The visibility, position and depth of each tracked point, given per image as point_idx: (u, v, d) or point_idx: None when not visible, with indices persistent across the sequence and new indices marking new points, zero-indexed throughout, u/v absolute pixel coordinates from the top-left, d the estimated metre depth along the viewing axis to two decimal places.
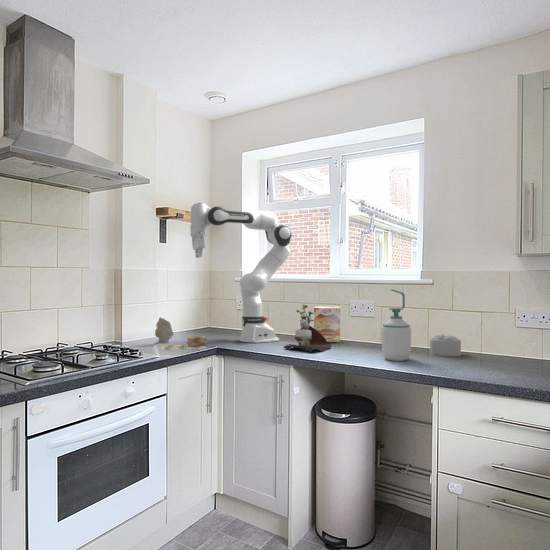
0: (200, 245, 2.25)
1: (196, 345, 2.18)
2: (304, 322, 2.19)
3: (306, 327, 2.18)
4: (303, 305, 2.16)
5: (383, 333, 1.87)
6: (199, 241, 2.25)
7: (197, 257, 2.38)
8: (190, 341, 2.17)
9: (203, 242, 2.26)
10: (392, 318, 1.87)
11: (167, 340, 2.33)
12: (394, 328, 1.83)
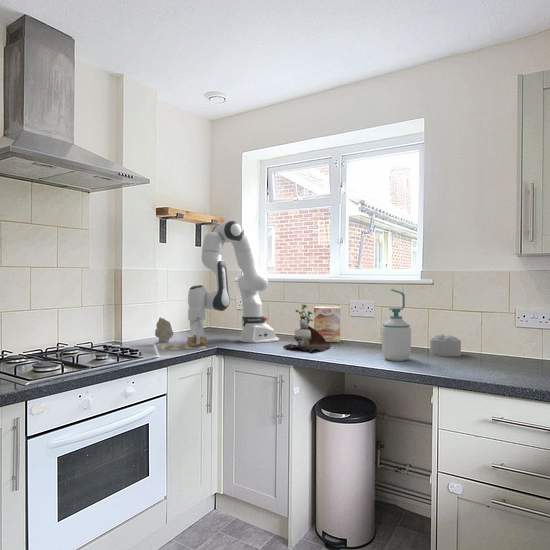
0: (198, 334, 2.11)
1: (196, 345, 2.18)
2: (303, 322, 2.19)
3: (305, 327, 2.19)
4: (302, 305, 2.17)
5: (383, 333, 1.87)
6: (197, 330, 2.11)
7: None
8: (190, 341, 2.17)
9: (201, 330, 2.12)
10: (392, 318, 1.87)
11: (167, 340, 2.33)
12: (394, 328, 1.83)
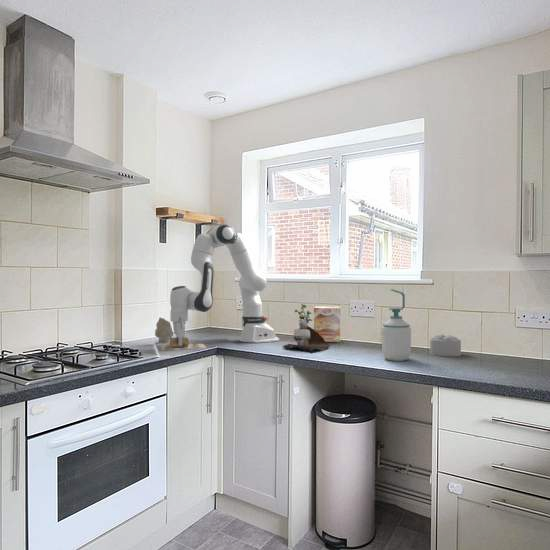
0: (180, 335, 2.08)
1: (178, 346, 2.15)
2: (303, 322, 2.20)
3: (305, 327, 2.19)
4: (302, 305, 2.17)
5: (383, 333, 1.87)
6: (179, 331, 2.08)
7: None
8: (171, 342, 2.14)
9: (183, 332, 2.09)
10: (392, 318, 1.87)
11: (167, 340, 2.33)
12: (394, 328, 1.83)
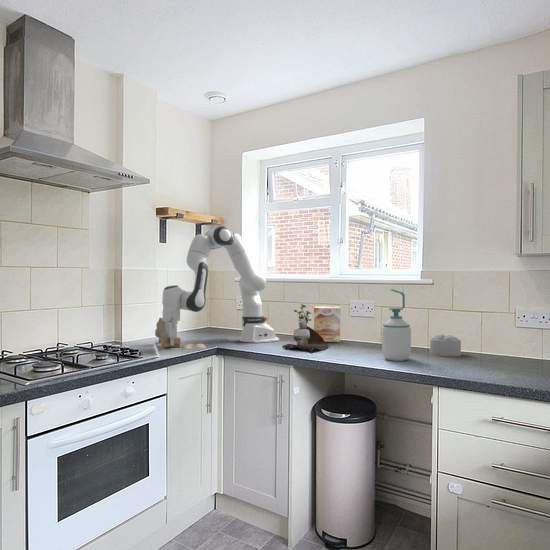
0: (172, 335, 2.07)
1: (169, 346, 2.14)
2: (302, 322, 2.20)
3: (304, 327, 2.20)
4: (301, 305, 2.18)
5: (383, 333, 1.87)
6: (171, 331, 2.07)
7: None
8: (163, 342, 2.13)
9: (175, 331, 2.07)
10: (392, 318, 1.87)
11: None
12: (394, 328, 1.83)
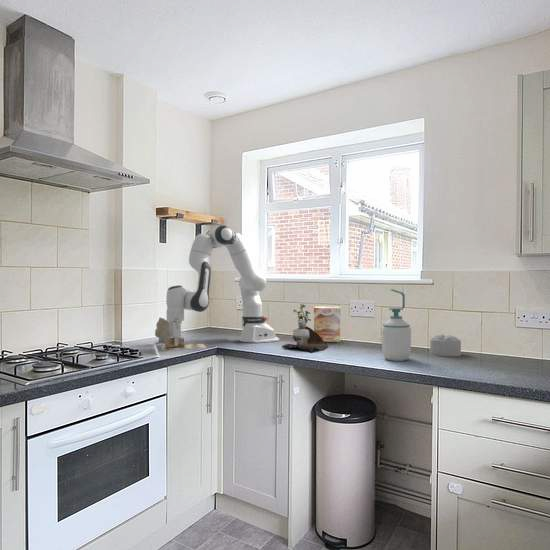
0: (176, 335, 2.07)
1: (173, 346, 2.14)
2: (301, 322, 2.21)
3: (303, 326, 2.20)
4: (301, 305, 2.18)
5: (383, 333, 1.87)
6: (175, 331, 2.07)
7: None
8: (167, 342, 2.13)
9: (179, 331, 2.08)
10: (392, 318, 1.87)
11: None
12: (394, 328, 1.83)
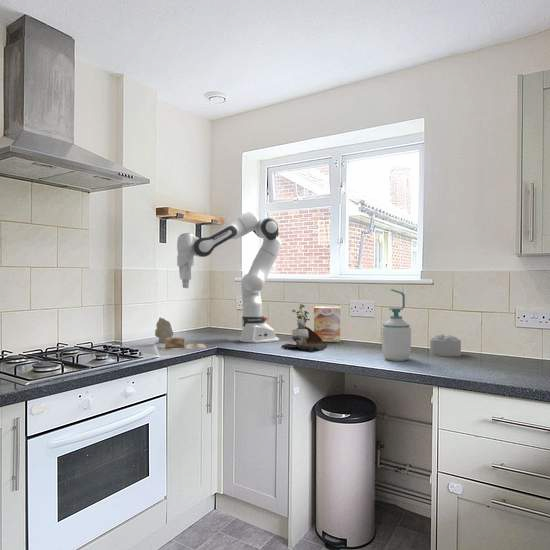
0: (186, 277, 2.22)
1: (173, 346, 2.14)
2: (301, 321, 2.21)
3: (303, 326, 2.21)
4: (300, 305, 2.19)
5: (383, 333, 1.87)
6: (185, 273, 2.22)
7: (184, 287, 2.36)
8: (167, 342, 2.13)
9: (189, 274, 2.23)
10: (392, 318, 1.87)
11: None
12: (394, 328, 1.83)
